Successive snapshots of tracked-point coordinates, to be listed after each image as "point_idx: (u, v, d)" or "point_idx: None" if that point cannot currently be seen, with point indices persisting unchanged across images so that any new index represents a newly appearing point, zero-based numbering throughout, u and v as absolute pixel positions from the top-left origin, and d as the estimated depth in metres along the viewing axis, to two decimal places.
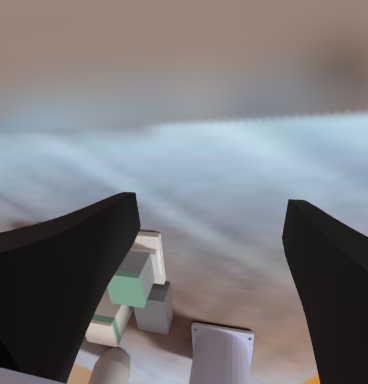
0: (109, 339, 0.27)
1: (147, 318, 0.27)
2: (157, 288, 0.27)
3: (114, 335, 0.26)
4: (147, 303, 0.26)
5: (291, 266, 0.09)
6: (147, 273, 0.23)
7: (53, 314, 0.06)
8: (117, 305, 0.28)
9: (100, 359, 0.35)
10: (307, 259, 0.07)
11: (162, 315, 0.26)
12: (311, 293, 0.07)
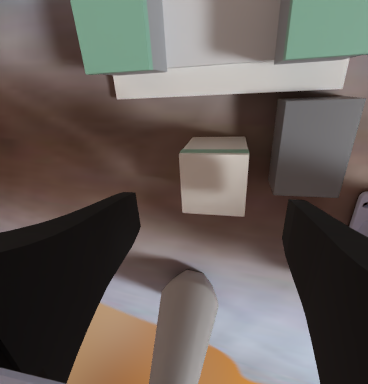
0: (233, 196, 0.13)
1: (305, 159, 0.14)
2: (327, 97, 0.14)
3: None
4: (320, 112, 0.13)
5: (291, 266, 0.09)
6: None
7: (53, 314, 0.06)
8: (239, 143, 0.15)
9: (172, 283, 0.22)
10: (307, 259, 0.07)
11: (345, 144, 0.13)
12: (311, 293, 0.07)
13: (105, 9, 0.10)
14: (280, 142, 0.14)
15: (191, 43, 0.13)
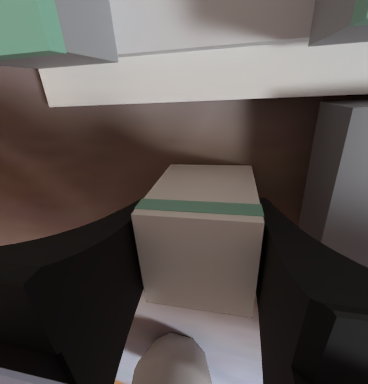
0: (234, 288, 0.07)
1: None
2: None
3: None
4: None
5: None
6: None
7: (102, 323, 0.06)
8: (243, 184, 0.09)
9: (148, 359, 0.16)
10: None
11: None
12: (261, 287, 0.07)
13: None
14: (334, 181, 0.08)
15: (157, 9, 0.07)
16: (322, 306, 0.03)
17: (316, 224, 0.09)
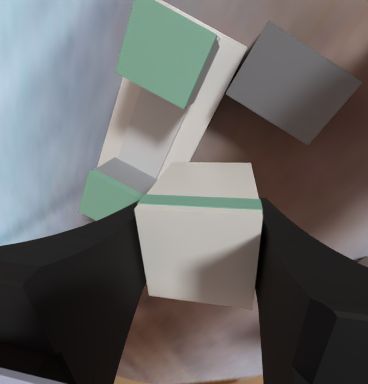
0: (234, 280, 0.08)
1: (290, 99, 0.13)
2: None
3: None
4: (254, 68, 0.12)
5: None
6: None
7: (102, 323, 0.06)
8: (243, 181, 0.09)
9: None
10: (259, 255, 0.08)
11: (302, 54, 0.12)
12: (261, 287, 0.07)
13: (101, 203, 0.16)
14: None
15: (150, 154, 0.17)
16: (322, 306, 0.03)
17: None
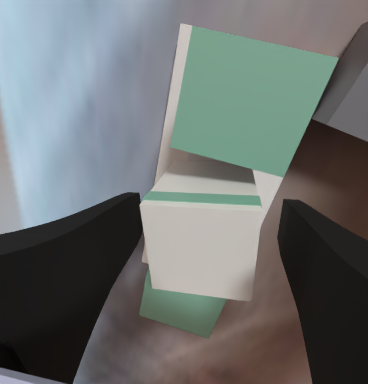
0: (234, 273, 0.08)
1: None
2: (353, 54, 0.09)
3: (255, 257, 0.08)
4: None
5: (285, 265, 0.09)
6: None
7: (59, 315, 0.06)
8: (243, 179, 0.09)
9: None
10: (300, 258, 0.07)
11: None
12: (304, 292, 0.07)
13: (169, 304, 0.12)
14: None
15: None
16: None
17: None
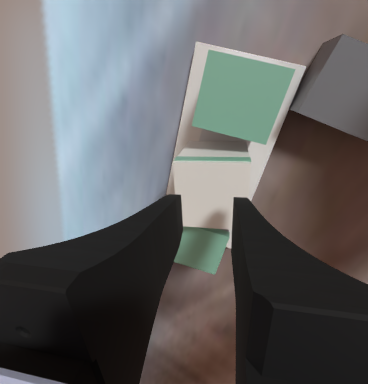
0: None
1: None
2: (316, 64, 0.13)
3: (247, 197, 0.12)
4: (328, 82, 0.12)
5: (232, 260, 0.09)
6: None
7: (129, 327, 0.06)
8: (240, 149, 0.13)
9: None
10: (236, 252, 0.08)
11: None
12: (237, 284, 0.07)
13: (186, 246, 0.16)
14: (334, 127, 0.13)
15: None
16: (263, 298, 0.03)
17: None
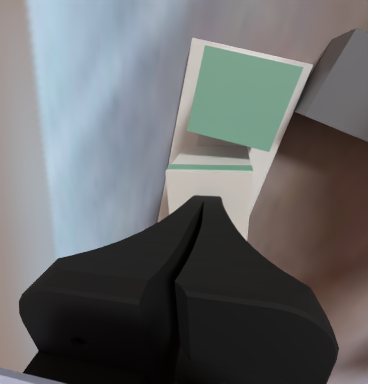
0: (233, 223, 0.11)
1: None
2: (324, 63, 0.12)
3: None
4: (339, 82, 0.11)
5: None
6: None
7: (174, 335, 0.06)
8: (240, 156, 0.12)
9: None
10: None
11: None
12: None
13: None
14: (344, 131, 0.12)
15: None
16: (182, 288, 0.03)
17: None
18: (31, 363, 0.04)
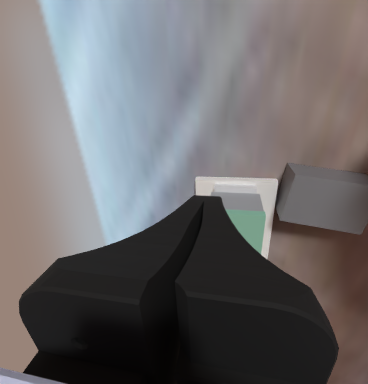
0: None
1: (333, 211, 0.17)
2: (285, 182, 0.18)
3: None
4: (296, 201, 0.17)
5: None
6: (228, 200, 0.18)
7: (174, 335, 0.06)
8: None
9: None
10: None
11: (329, 185, 0.16)
12: None
13: None
14: None
15: None
16: (182, 288, 0.03)
17: None
18: (31, 363, 0.04)
